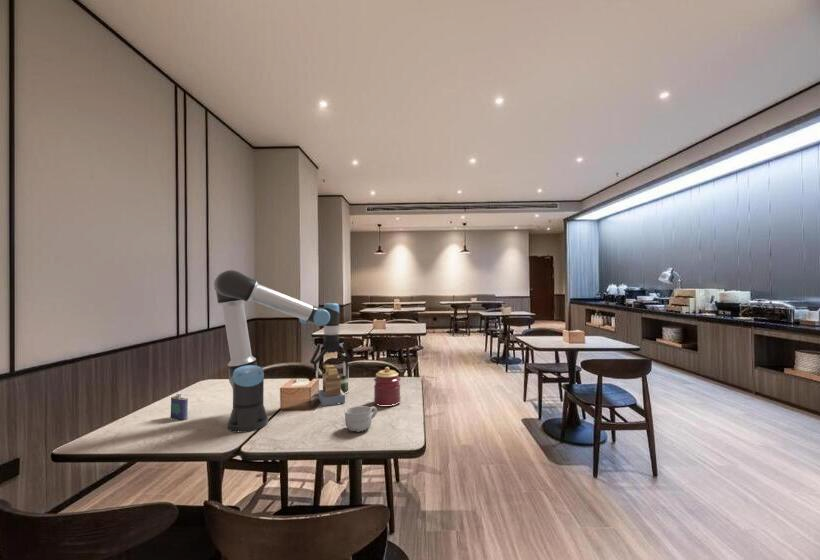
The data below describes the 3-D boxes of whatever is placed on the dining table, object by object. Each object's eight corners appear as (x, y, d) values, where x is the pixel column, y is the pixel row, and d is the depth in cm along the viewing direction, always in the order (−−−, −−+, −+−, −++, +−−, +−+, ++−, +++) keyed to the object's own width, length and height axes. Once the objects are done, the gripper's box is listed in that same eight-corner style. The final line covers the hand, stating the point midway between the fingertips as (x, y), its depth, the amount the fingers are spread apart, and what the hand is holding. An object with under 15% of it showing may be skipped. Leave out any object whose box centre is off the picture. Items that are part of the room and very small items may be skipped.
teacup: (349, 437, 136) (349, 415, 137) (341, 427, 146) (341, 407, 146) (383, 430, 143) (383, 409, 143) (373, 421, 152) (373, 402, 153)
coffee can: (345, 395, 189) (345, 368, 190) (326, 394, 191) (326, 367, 191) (351, 389, 200) (351, 364, 200) (333, 389, 201) (333, 363, 202)
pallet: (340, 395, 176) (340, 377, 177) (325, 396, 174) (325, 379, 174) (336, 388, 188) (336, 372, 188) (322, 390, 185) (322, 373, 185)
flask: (189, 418, 157) (189, 393, 157) (182, 421, 154) (182, 395, 154) (174, 416, 160) (174, 391, 160) (168, 418, 157) (168, 393, 158)
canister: (405, 401, 178) (405, 365, 179) (390, 409, 167) (390, 371, 168) (384, 397, 185) (384, 363, 186) (368, 404, 174) (368, 367, 175)
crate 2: (337, 378, 176) (337, 369, 176) (329, 378, 175) (329, 370, 175) (336, 376, 180) (336, 368, 180) (327, 376, 178) (327, 368, 178)
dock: (345, 403, 176) (345, 394, 176) (322, 406, 172) (322, 397, 172) (340, 395, 189) (340, 387, 189) (318, 398, 185) (318, 389, 185)
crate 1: (334, 374, 183) (334, 366, 184) (326, 375, 182) (326, 367, 182) (333, 372, 187) (333, 365, 187) (325, 373, 186) (325, 365, 186)
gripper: (354, 332, 189) (353, 372, 189) (305, 333, 180) (304, 376, 180) (357, 333, 182) (356, 376, 182) (306, 335, 173) (305, 380, 173)
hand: (330, 376), depth 181 cm, fingers open, 13 cm apart
